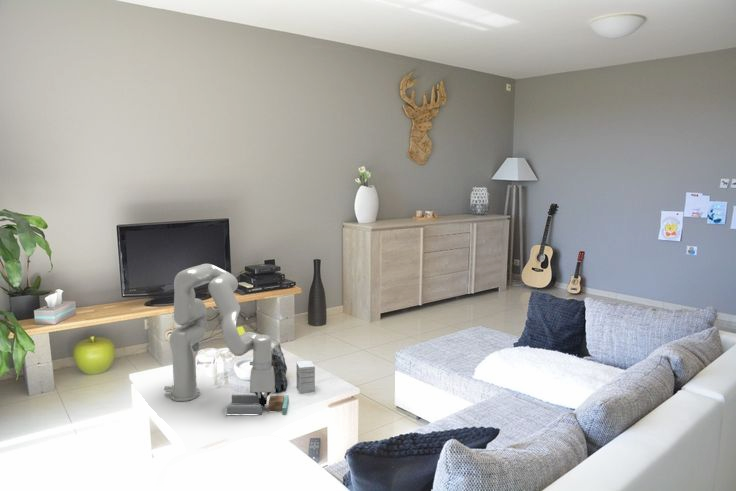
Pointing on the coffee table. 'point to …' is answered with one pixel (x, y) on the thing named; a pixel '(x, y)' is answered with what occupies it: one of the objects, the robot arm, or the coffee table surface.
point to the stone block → (279, 367)
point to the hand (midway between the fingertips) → (263, 405)
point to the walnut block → (276, 402)
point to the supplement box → (305, 377)
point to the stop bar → (285, 405)
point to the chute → (245, 409)
